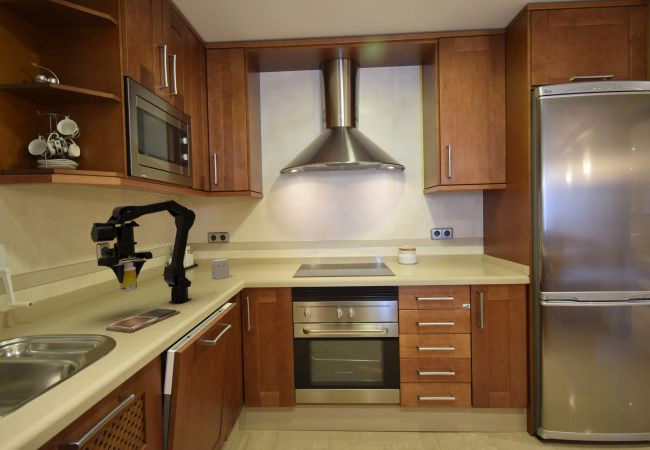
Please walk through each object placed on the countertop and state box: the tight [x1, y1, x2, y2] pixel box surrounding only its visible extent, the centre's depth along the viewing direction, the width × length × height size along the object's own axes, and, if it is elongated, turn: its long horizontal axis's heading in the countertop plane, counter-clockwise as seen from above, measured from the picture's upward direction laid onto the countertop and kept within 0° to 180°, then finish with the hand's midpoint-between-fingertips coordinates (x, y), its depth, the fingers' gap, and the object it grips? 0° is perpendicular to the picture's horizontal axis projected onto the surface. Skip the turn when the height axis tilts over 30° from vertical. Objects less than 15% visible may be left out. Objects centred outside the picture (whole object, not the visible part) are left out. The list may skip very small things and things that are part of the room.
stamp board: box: [105, 308, 181, 334], centre depth 119 cm, size 21×11×1 cm, turn 160°
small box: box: [210, 258, 230, 280], centre depth 191 cm, size 8×6×10 cm
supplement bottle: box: [119, 261, 138, 292], centre depth 126 cm, size 6×6×10 cm
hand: (128, 281), depth 126 cm, fingers closed on supplement bottle, 5 cm apart
